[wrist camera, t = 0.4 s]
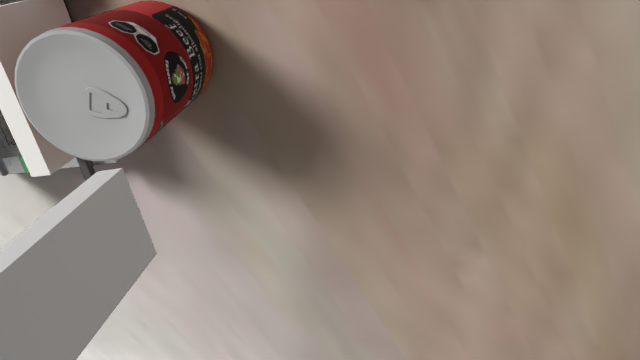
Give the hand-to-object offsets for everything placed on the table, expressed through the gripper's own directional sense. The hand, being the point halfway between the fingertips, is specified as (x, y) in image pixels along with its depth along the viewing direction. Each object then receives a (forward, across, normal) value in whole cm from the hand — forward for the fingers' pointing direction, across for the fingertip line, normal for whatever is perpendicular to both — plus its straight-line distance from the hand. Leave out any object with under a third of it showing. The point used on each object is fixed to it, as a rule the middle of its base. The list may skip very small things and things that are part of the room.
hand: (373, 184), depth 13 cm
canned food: (+25, -17, 0) cm, 30 cm away
